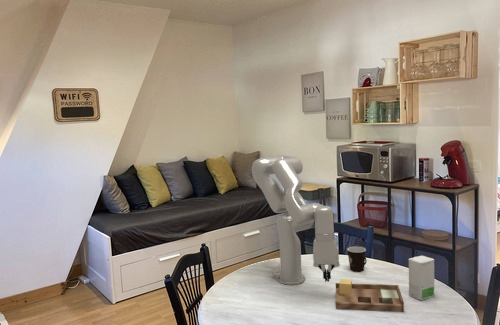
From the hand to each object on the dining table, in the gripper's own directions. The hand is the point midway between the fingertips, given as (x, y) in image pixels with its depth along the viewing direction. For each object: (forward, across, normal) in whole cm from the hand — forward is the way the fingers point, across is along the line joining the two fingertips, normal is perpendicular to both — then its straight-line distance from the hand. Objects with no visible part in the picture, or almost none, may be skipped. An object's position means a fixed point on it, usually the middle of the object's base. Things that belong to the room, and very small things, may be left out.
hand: (327, 280), depth 173 cm
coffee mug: (+7, -13, -30) cm, 34 cm away
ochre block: (+5, -7, 0) cm, 9 cm away
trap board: (+8, -16, +2) cm, 18 cm away
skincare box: (+8, -37, -5) cm, 38 cm away
